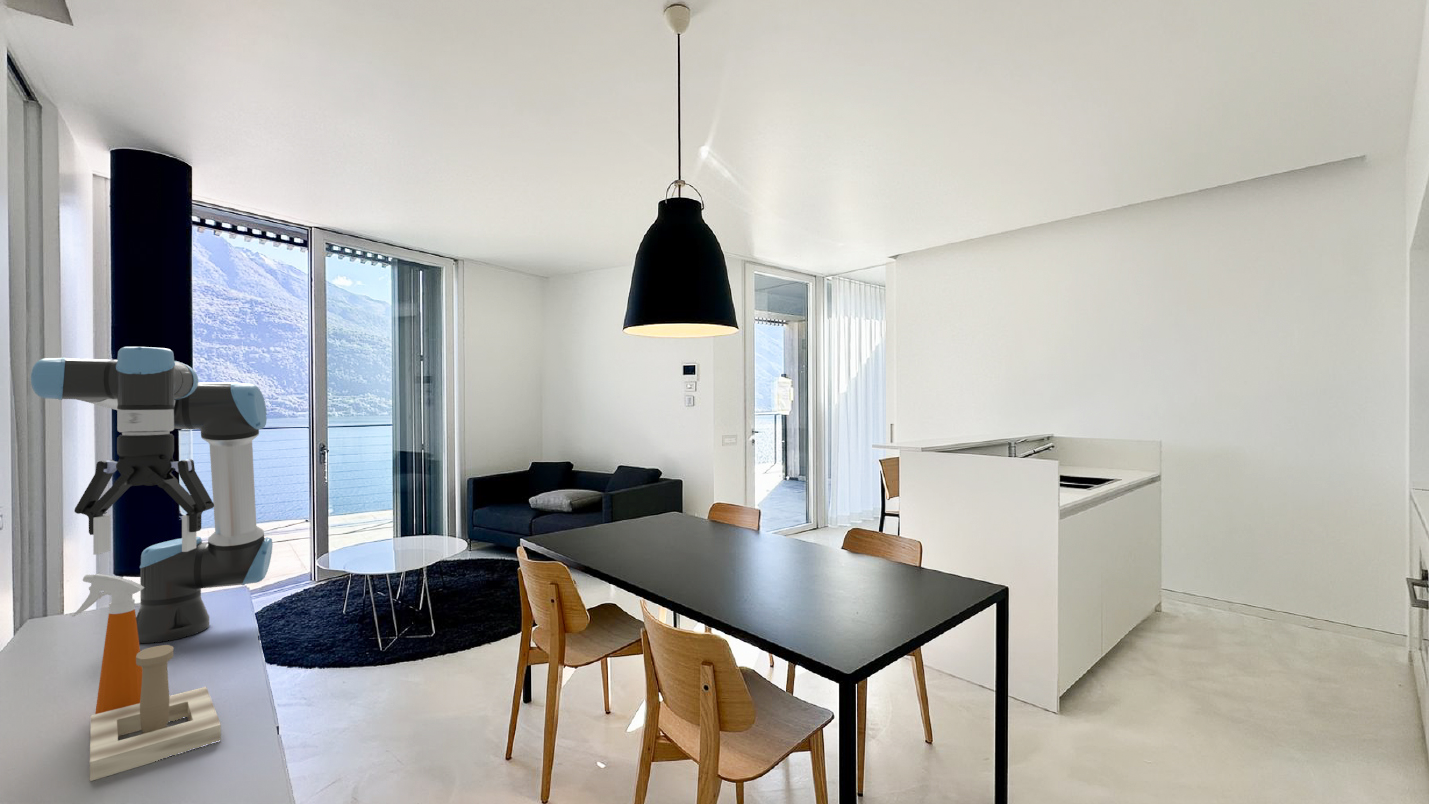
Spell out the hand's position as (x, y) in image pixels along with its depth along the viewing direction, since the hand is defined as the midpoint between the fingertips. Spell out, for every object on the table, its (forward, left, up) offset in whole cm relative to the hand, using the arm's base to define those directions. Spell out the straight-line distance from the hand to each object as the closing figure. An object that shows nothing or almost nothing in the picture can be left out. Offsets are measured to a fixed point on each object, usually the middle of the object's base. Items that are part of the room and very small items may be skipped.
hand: (146, 551), depth 111 cm
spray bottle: (-9, -12, -32) cm, 35 cm away
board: (+3, +3, -32) cm, 32 cm away
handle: (+3, +3, -32) cm, 33 cm away
